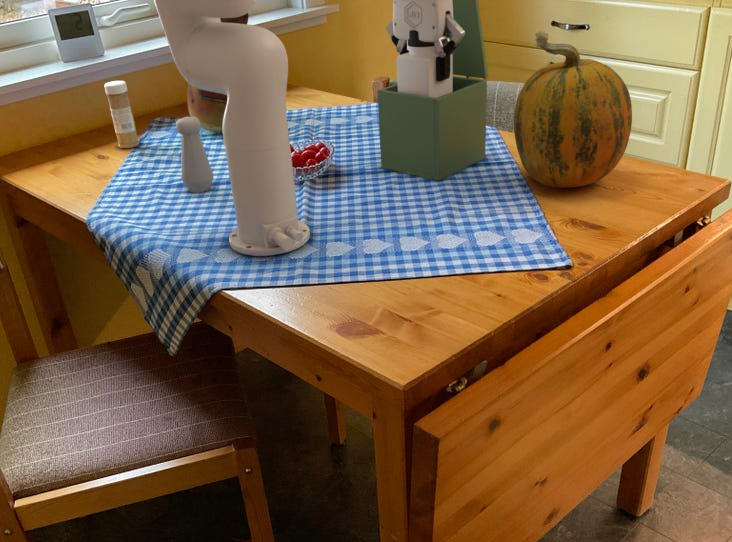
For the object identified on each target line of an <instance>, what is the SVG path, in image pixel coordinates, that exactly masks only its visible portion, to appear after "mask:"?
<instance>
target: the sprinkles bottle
mask: <svg viewBox="0 0 732 542" xmlns="http://www.w3.org/2000/svg"><path fill="white" fill-rule="evenodd" d="M103 86H104V91H105V94H106V97H107V100H108V105H109V110H110V114H111V119H112V123H113V128H114V131H115V135H116V140H117V146H118V147H119V148H121V149H131V148H135V147H137V146H139V144H140V141H139V139H138V134H137V130H136V129H137V128H136V123H135V119H134V114H133V111H132V106H131V103H130V102H131V101H130V98H129V94H128V93H129V92H128V90H129V89H128V86H127V82H126V81H125V80H113V81H108V82H105V83H104V85H103Z"/></svg>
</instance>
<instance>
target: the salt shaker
mask: <svg viewBox="0 0 732 542" xmlns="http://www.w3.org/2000/svg"><path fill="white" fill-rule="evenodd" d="M175 127H176V132H177V134H180V158H181V160H180V161H181V162H180V163H181V164H180V165H181V169H180V170H181V172H180V173H181V181H182V183H183V184H184V186H185V187H186V188H187V190H188V191H189V192H190V193H193V194H194V193H195V194H197V193H199V194H200V193H204V192H207V191H210V189H211V186H212V183H213V180H214V172H213V170H212V167H211V164H210V161H209V158H208V155H207V152H206V150H205V149H206V148H205V146H204V144H203V141H202V138H201V135H200V131H201V130H202V127H201V124H200V121H199V119H198V118H196V117H191V116H184V117H181V118H179V119H178V120H176V122H175Z"/></svg>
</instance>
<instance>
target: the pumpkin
mask: <svg viewBox="0 0 732 542" xmlns="http://www.w3.org/2000/svg"><path fill="white" fill-rule="evenodd" d="M534 35H535V36H536V38H535V40H534V41H535V42H536V47H537V48H539V49H542V50H544V51H545V52H546V53H548V54H551V55H555V56H557V55H561V56H563V57H565V60H564V61H559V62H553V63H550V64H546V65H544V66H542V67H540V68H539V69H537V70H536V71H534V73H532V74H531V75H530V76H529V77H528V79H527V80H526V82H525V83H524V84H523V86H522V88H521V90H520V92H519V94H518V97H517V100H516V103H515V107H514V114H513V132H514V140H515V145H516V150H517V153H518V156H519V160H520V161H521V165H522V166H523V168H524V171H526V172H527V174H528V175H529V176H530V177H531V178H532V179H533V180H535V181H536V182H538V184H540V185H543V186H545V187H550V188H558V189H560V188H561V189H562V188H563V189H564V188H575V187H576V188H578V187H584V186H588V185H592V184H595V183H597V182H599V181H600V180H602V179H604V178H606V177H607V176H608V175H609V174H611V172H613V170H614V169H615V168H616V167H617V165H618V164H619V163H620V161H621V159H622V158H623V156H624V154H625V152H626V150H627V147H628V145H629V140H630V136H631V131H632V125H633V106H632V99H631V95H630V92H629V89H628V86H627V84H626V83H625V80H623V79H622V77H621V76H620V75H619V73H617V72H616V71H615V70H614V69H613V68H611V67H610V66H609V65H607V64H605V63H602V62H600V61H598V60H595V59H592V58H581V56H580V53H579V51H578V49H577V48H576V47H575V46H574V45H572V44H569V43H550V42H548V40H549V34H548V33H546V32H544V31H542V30H540V31H538V32H535V33H534Z"/></svg>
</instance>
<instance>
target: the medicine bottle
mask: <svg viewBox="0 0 732 542" xmlns="http://www.w3.org/2000/svg"><path fill="white" fill-rule="evenodd" d="M407 50H409V52H408V53H405V54H402V55H400V54H399V55H396V74H397V75H396V76H397V77H396V79H397V81H396V82H397V83H398V92H400V93H407V94H413V95H420V96H427V97H434V98H439V97H442V96H444V95H447V94H449V93H452V92H453V76H454V75H453V54H451V55H450V77H449V78H448V79H445V80H443V81H437V80H436V57H439V54H438V52H437V50H436V47H435V45H434V42H423V41H421V40H419V33H418V31H416V30H411V31H409V39H408V40H407Z"/></svg>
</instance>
